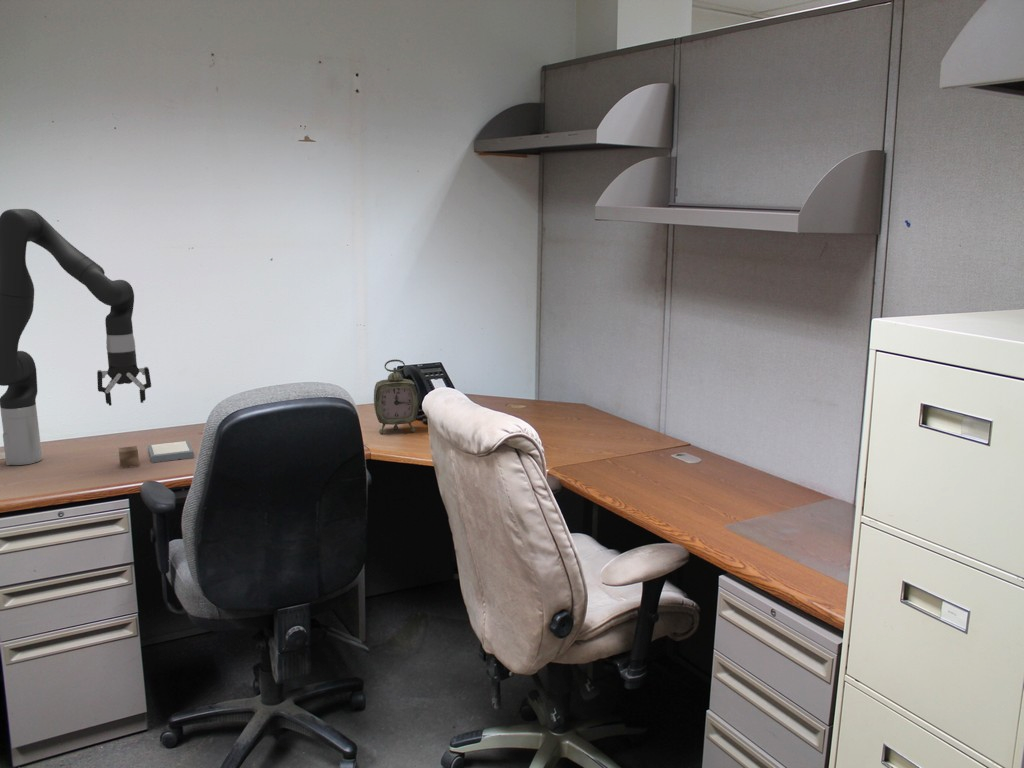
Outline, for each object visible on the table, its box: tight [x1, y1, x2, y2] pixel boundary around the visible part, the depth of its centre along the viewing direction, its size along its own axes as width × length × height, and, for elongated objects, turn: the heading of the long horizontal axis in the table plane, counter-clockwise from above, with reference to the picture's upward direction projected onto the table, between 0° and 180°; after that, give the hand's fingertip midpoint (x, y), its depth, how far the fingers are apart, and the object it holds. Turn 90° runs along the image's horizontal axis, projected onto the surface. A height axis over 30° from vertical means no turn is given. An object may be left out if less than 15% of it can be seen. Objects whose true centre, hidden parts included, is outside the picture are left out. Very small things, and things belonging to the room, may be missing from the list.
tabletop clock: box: [373, 359, 419, 435], centre depth 286 cm, size 14×9×25 cm, turn 104°
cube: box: [118, 445, 140, 468], centre depth 249 cm, size 5×5×5 cm
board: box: [147, 440, 195, 463], centre depth 260 cm, size 12×14×2 cm
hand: (126, 403), depth 247 cm, fingers open, 8 cm apart
